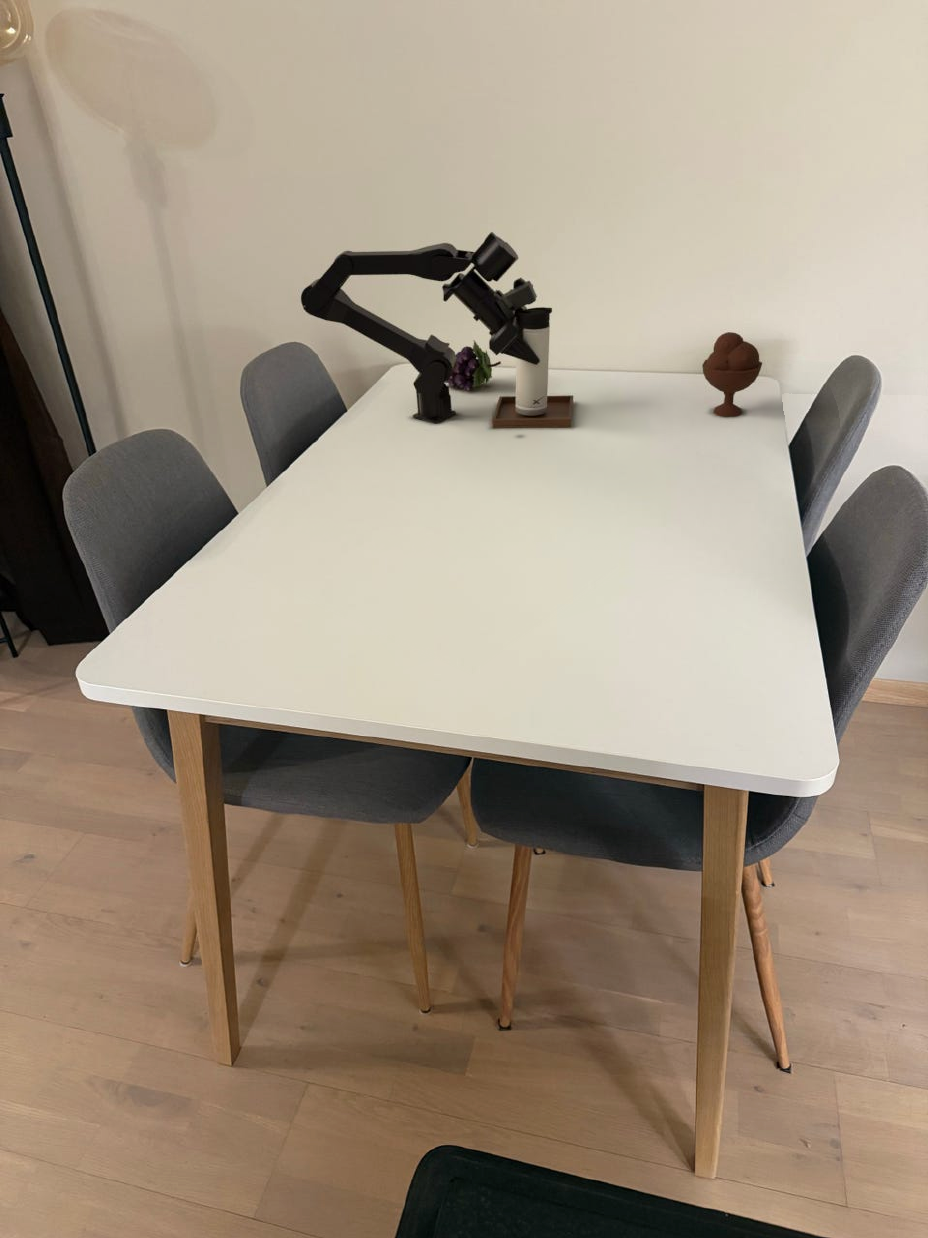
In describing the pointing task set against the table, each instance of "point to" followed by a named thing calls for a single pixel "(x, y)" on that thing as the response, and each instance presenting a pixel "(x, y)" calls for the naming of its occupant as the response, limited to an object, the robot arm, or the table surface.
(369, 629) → the table surface
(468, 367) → the fruit
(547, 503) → the table surface
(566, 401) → the serving tray
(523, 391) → the travel mug
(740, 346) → the ice cream bowl
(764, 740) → the table surface
